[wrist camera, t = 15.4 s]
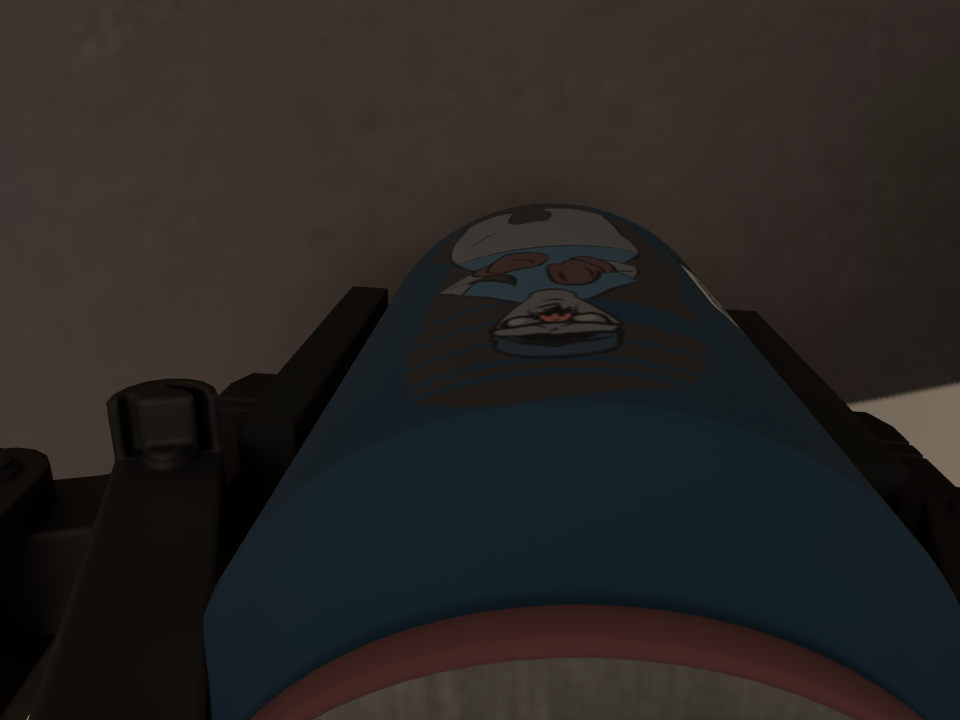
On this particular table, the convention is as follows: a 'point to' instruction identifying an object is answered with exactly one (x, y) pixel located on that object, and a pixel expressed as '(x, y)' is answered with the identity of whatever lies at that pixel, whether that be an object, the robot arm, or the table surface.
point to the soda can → (574, 515)
